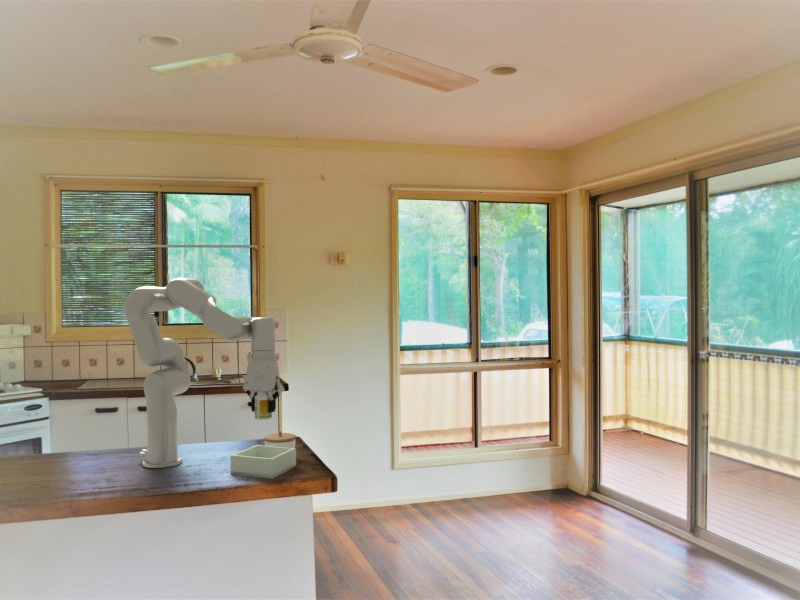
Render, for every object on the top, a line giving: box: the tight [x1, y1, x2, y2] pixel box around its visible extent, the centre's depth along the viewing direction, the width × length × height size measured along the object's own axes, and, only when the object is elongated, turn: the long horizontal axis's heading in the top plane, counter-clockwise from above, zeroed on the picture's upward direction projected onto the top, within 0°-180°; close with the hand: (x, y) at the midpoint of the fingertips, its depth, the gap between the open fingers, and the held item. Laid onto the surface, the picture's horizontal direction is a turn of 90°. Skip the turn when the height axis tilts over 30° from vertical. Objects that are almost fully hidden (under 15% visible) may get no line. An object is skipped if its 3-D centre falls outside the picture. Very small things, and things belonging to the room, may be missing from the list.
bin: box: [230, 444, 297, 480], centre depth 202 cm, size 15×15×6 cm
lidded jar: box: [263, 430, 297, 448], centre depth 217 cm, size 11×11×9 cm
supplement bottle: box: [254, 391, 273, 421], centre depth 202 cm, size 5×5×10 cm
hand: (263, 410), depth 202 cm, fingers closed on supplement bottle, 5 cm apart
